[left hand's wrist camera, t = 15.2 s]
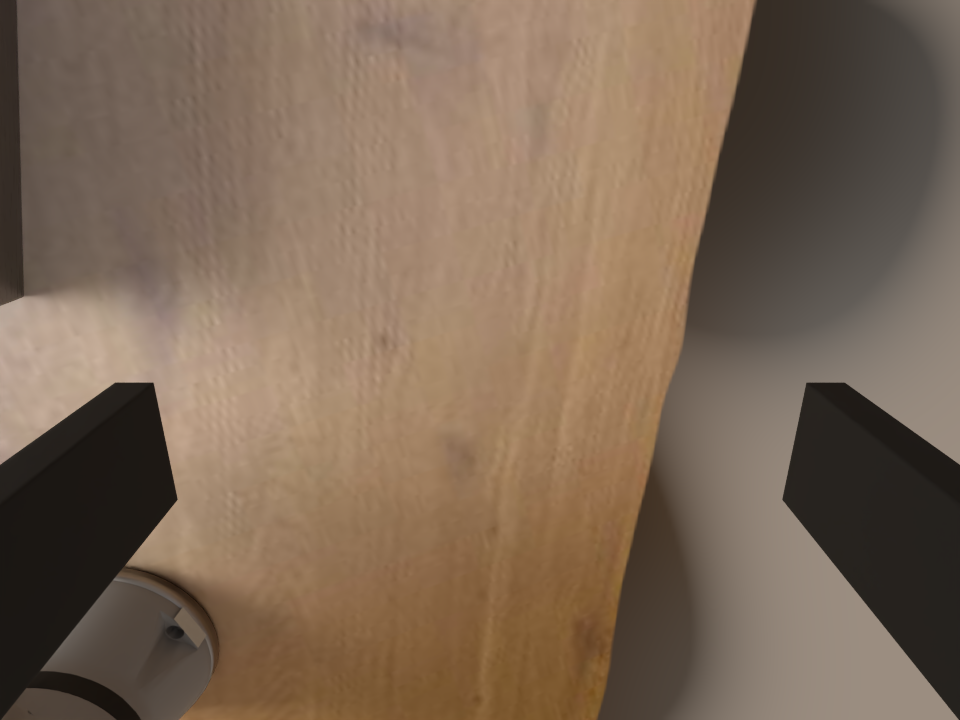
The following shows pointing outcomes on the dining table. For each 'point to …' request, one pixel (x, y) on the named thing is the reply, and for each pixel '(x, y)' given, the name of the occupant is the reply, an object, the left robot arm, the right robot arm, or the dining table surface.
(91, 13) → the dining table surface
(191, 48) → the dining table surface
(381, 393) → the dining table surface
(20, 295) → the bar
